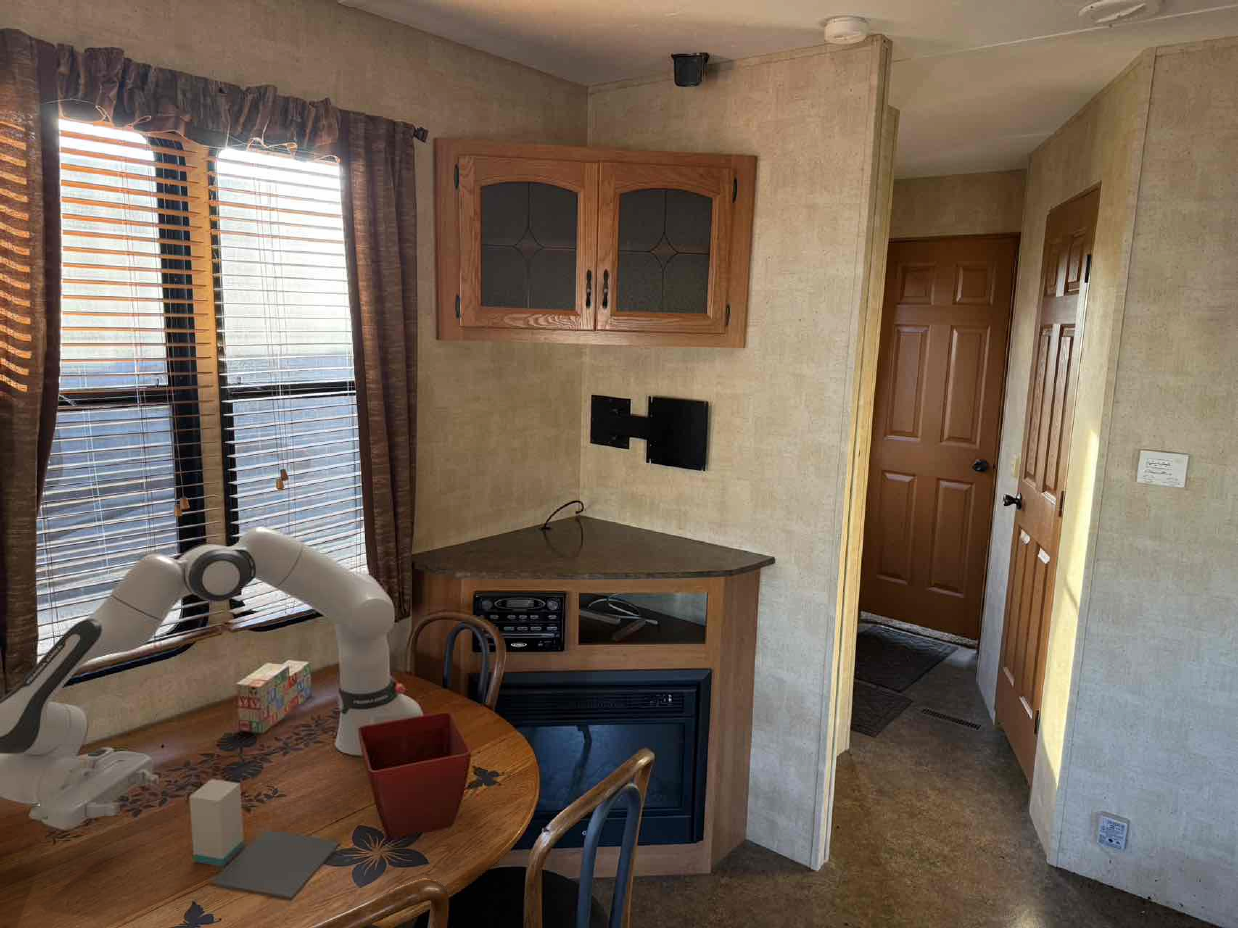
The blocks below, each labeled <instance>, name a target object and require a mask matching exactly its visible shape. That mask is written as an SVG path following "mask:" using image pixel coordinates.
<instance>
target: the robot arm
mask: <svg viewBox="0 0 1238 928" xmlns="http://www.w3.org/2000/svg"><path fill="white" fill-rule="evenodd" d="M254 579H255V580H257V581H258V580H259V581H261V582H263V583H265V584H266V585H268V586H271V587H273V588H274V589H277V590H278V591H280V592H282V593H284V594H286V595H288V596H290V597H292V598H294V599H296V600H298V601H300V602H302V603H304V604H306V605H308V606H309V607H310V608H311V609H313V610H315V611H316V612H318V613H319V614H321V615H322V616H324V617H325V618H327V619H329V620H330V621H332V622H333V623H334V627H335V634H336V635H335V636H336V642H337V648H338V658H339V661H338V663H339V679H340V681H339V682H340V683H339V685H338V693H337V697H338V698H337V700H338V701H337V703H338V709H339V711H340V712H339V721H338V722H339V724H338V730H337V735H336V739H335V741H334V742H335V743H334V744H335V748H336V749H337V750H339V751H340V752H342V753H344V754H347V755H353V756H363V754H362V750H361V745H360V740H359V734H358V728H359V727H361V726H365V725H371V724H377V723H383V722H388V721H394V720H400V719H405V718H411V717H417V716H423V715H424V713H423V711H422V708H421V706H420V705H419V703H418V702H417V701H415V700H414V699H413V698H411V697H409V696H407V695H405V694H404V693H405V692H406V687H405V686H404V685H403V684H402V683H399V681H398V680H397V679H395V678H393V677H392V676H391V674H390V673H391V671H390V670H391V669H390V665H391V664H390V648H389V644H388V639H387V634H388V633H389V632H390V630H391V629H392V628H393V626H394V623H395V621H396V613H395V607H394V606H395V605H394V603H393V600H392V599H391V597H390V596H389V595H388V594H387V592H386V591H385V590H384V588H383V587H382V586H381V585H380V583H379V582H378V581H377V580H376V579H375V578H374V577H373V576H371V575H370V574H368V573H364V572H362V571H356V570H355V571H351V570H349V569H347V568H346V567H344V566H343V565H341V564H340V563H339V562H338V561H336V560H335V559H333V558H331V557H330V556H327V555H325V554H324V553H322V552H320V551H318V550H316V549H314V548H313V547H311V546H309V545H307V544H306V543H303V542H302V541H300V540H298V539H296V538H295V537H292V536H290V535H288V534H285V533H283V532H281V531H278V530H275V529H272V528H269V527H267V526H266V527H265V526H262V525H261V526H254V527H252V528H250V529H248V530H247V531H246V532H244V534H243V535H241V537H239V540H238V541H237V542H236V543H235V544H234V545H230V546H226V545H221V544H218V543H211V542H207V543H205V542H204V543H200V544H198V545H195V546H193V547H191V548H189V549H187V550H185V551H184V552H181V553H180V554H178V555H176V556H174V557H171V556H168V555H166V554H162V553H151V554H147V555H145V556H143V557H142V558H140V559H139V560H138V561H137V562H136V563H135V564H134V565H133V567H131V569H130V570H128V571H127V573H126V574H125V575H124V576H123V577H122V578H121V580H120V581H119V582H118V583H117V584H116V586H115V587H114V589H113V590H112V591H111V592H110V594H109V595H108V597H107V598H106V599H105V600H104V602H102V604H101V605H100V606H99V607H98V608H97V609H96V610H94V612H92V613H91V614H90V615H89V616H87V617H86V618H84V619H83V620H81V621H78V622H77V623H75V624H74V625H73V626H72V627H70V628H69V629H68V630H67V631H65V633H64V634H63V635H61V637H60V638H59V639H58V640H57V642H55V644H53V646H52V647H51V648H50V649H48V651H47V652H46V654H45V655H44V656H43V657H42V658H41V659H40V660H39V662H38V663H37V664H35V666H34V667H32V669H31V670H30V671H29V672H28V674H27V675H26V676H25V677H24V678H23V679H22V680H21V681H20V682H19V683H18V684H17V685H16V686H15V687H14V688H13V689H12V690H11V691H10V692H8V693H7V694H6V695H5V696H3V697H2V698H0V797H1V798H4V799H6V800H10V801H13V802H17V803H21V804H28V805H33V804H36V805H34V806H33V807H32V808H31V809H30V811H29V814H28V816H29V818H30V819H32V820H36V821H42V823H43V824H45V825H47V826H50V827H53V828H56V829H59V830H63V831H66V830H72V829H75V828H77V826H79V825H81V824H82V823H83V822H85V821H86V820H88V819H89V818H90V819H91V818H92V819H93V818H98V817H104V816H109V817H114V816H115V815H116V814H118V813H119V812H120V811H121V808H120V807H121V805H120V803H119V802H114V801H116V800H117V799H119V798H120V797H121V796H123V795H124V794H125V793H128V791H130V790H132V789H133V788H134V787H136V786H137V785H138V784H143V783H144V787H145V788H150V789H152V788H154V787H156V786H157V785H158V784H159V783H160V779H159V776H158V775H156V774H153V771H154V770H153V769H154V768H153V759H152V757H151V756H150V755H148V754H145V753H140V752H135V751H131V752H129V751H118V752H114V750H113V749H114V748H112V747H109V746H108V747H107V746H105V747H101V748H99V749H97V750H95V751H92V752H89V753H86V754H80V753H79V752H80V751H81V749H82V746H83V745H84V743H85V740H86V738H87V735H88V732H89V731H88V730H89V719H88V717H87V714H86V712H85V711H84V709H83V708H81V707H80V706H77V705H72V704H68V703H62V702H56V701H51V700H52V699H53V698H54V697H55V696H56V695H58V694H57V693H58V692H59V691H60V690H61V689H62V688H63V687H64V686H65V684H67V682H68V681H69V680H70V679H71V678H72V677H73V675H74V674H76V672H77V671H78V670H79V669H80V668H81V667H83V666H84V665H85V664H87V663H89V662H90V661H92V660H94V659H98V658H100V657H104V656H108V655H115V654H121V653H127V652H132V651H135V650H137V649H139V648H141V647H143V646H144V645H145V644H147V643H148V642H149V641H150V640H151V639H152V638H153V637H154V635H156V633H157V632H158V630H159V629H160V627H161V626H162V624H163V623H164V621H165V620H166V618H167V617H168V615H169V614H170V613H171V610H172V609H173V607H175V605H176V604H177V603H178V602H180V600H182V599H183V598H185V597H187V596H190V595H195V596H197V597H198V598H199V599H202V600H204V601H206V602H210V603H211V602H212V603H220V602H225V601H228V600H230V599H232V598H234V597H235V596H237V595H238V594H239V593H240V592H241V591H242V590H243V589H244V588H245V587H247V586H248V585H249V584H250V583H251V582H252V581H253V580H254ZM79 754H80V755H79Z"/></svg>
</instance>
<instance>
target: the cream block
mask: <svg viewBox="0 0 1238 928" xmlns="http://www.w3.org/2000/svg"><path fill="white" fill-rule="evenodd" d="M242 809H243V808H242V794H241V783H239V782H233V781H226V780H219V779H213V778H211V779H210V780H209V781H207V782H206V783H204V784H203V785H202V786H201V787H200V788H198V789H197V790H196V791H194V792H193V793H192V794H190V796H189V810H190V821H191V822H190V823H191V837H192V848H193V849H192V850H193V851H192V852H193V862H194V863H195V862H196V863H200V864H206V865H211V866H217V867H224V866H226V865H228V864H229V863H230V862H231V861H232V859H234V858H235V857H236V855H238V853H240V851H241V850H242V849H243V848H244V847H245V845H244V844H245V842H244V841H245V840H244V825H243V811H242Z"/></svg>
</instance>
